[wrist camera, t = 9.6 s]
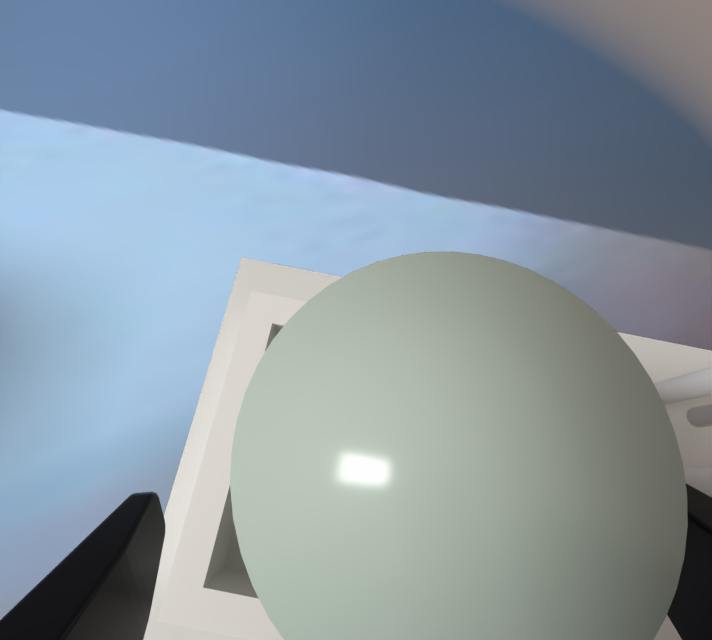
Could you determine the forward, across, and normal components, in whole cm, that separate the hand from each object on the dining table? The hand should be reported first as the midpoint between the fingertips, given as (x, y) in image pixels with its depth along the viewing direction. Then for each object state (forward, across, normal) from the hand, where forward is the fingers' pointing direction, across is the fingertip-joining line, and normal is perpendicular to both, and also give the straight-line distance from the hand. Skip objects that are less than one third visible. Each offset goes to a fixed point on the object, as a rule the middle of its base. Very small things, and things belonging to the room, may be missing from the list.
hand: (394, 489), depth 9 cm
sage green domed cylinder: (+6, 0, +6) cm, 8 cm away
